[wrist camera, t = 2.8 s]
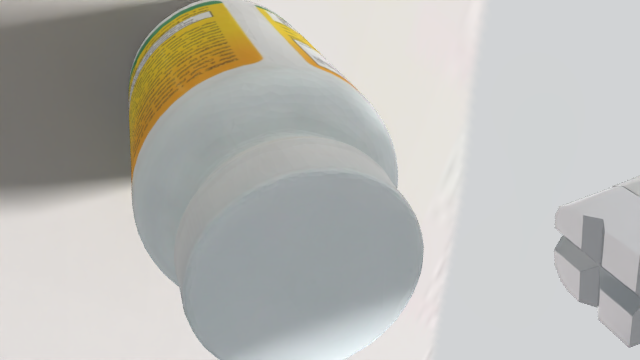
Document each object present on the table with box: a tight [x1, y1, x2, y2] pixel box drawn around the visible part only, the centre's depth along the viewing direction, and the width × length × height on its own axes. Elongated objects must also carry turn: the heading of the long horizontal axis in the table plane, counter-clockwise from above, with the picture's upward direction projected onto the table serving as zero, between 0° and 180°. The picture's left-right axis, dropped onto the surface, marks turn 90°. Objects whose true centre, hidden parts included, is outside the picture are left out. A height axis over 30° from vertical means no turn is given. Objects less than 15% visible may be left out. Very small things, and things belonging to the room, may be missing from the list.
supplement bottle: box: [129, 0, 424, 360], centre depth 13 cm, size 5×5×10 cm
